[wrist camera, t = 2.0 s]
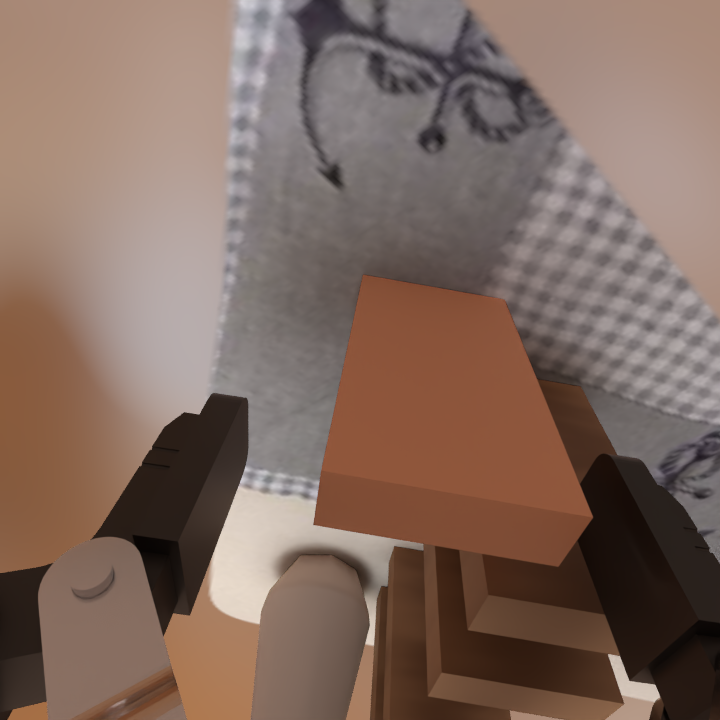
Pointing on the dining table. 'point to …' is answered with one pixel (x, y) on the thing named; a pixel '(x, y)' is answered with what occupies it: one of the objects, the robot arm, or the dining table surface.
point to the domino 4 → (506, 658)
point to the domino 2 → (446, 431)
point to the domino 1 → (379, 656)
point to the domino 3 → (539, 581)
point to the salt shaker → (310, 642)
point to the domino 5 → (415, 651)
